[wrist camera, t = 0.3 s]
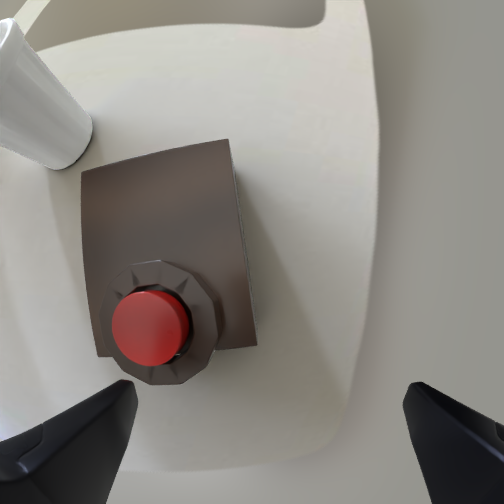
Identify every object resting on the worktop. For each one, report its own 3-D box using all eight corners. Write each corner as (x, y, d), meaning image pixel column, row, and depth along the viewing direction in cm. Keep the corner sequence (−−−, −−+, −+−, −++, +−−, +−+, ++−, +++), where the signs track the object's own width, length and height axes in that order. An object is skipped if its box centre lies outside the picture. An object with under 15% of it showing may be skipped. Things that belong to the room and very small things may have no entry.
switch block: (259, 345, 21) (261, 377, 14) (132, 356, 21) (88, 384, 14) (234, 168, 22) (225, 124, 15) (113, 191, 22) (66, 163, 15)
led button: (195, 355, 14) (187, 364, 13) (132, 358, 14) (119, 367, 13) (183, 286, 15) (174, 287, 13) (121, 293, 15) (106, 295, 13)
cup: (28, 176, 22) (-75, 127, 8) (56, 105, 23) (-24, 32, 9) (85, 185, 22) (-36, 116, 8) (115, 104, 23) (36, 2, 8)
